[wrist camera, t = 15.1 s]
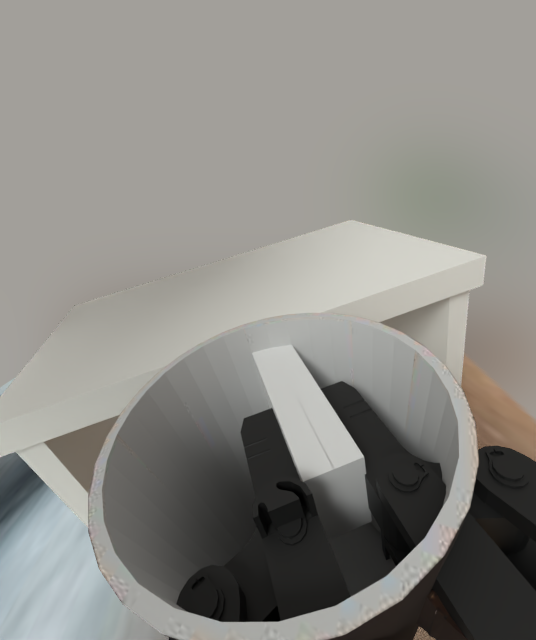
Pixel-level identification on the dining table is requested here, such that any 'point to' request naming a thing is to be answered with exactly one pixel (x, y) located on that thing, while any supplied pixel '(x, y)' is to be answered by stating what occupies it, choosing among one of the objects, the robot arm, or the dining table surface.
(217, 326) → the shelf stand
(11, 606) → the dining table surface
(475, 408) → the dining table surface
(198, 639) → the coffee mug
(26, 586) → the dining table surface
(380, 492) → the robot arm
